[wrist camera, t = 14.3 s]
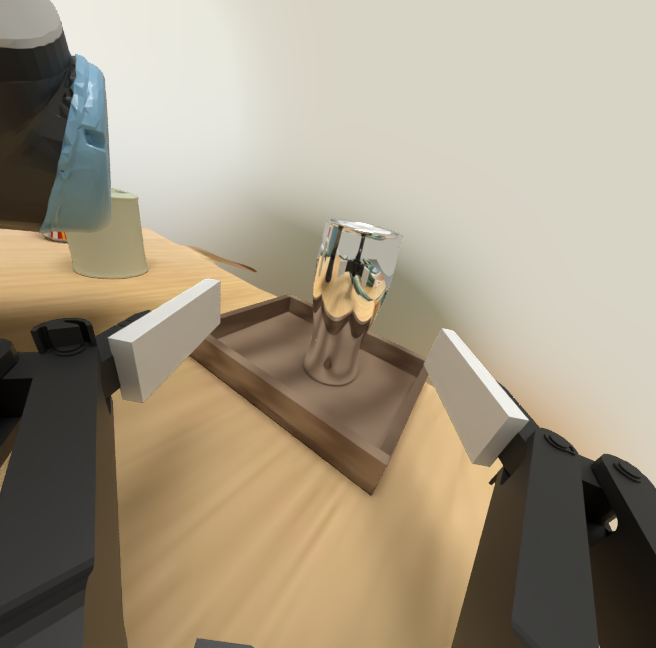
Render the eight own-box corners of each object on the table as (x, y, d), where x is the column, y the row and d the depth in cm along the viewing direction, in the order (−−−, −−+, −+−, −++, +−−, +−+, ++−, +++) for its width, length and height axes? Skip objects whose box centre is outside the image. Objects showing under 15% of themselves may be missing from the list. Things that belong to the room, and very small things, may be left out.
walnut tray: (187, 353, 26) (184, 325, 25) (286, 314, 39) (289, 293, 37) (371, 495, 17) (386, 465, 16) (422, 384, 30) (434, 361, 28)
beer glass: (333, 344, 32) (362, 221, 25) (373, 376, 28) (421, 238, 21) (287, 357, 27) (307, 213, 21) (325, 398, 23) (367, 233, 16)
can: (161, 269, 44) (153, 195, 38) (111, 283, 36) (91, 192, 30) (115, 256, 45) (101, 182, 39) (55, 267, 36) (26, 175, 31)
